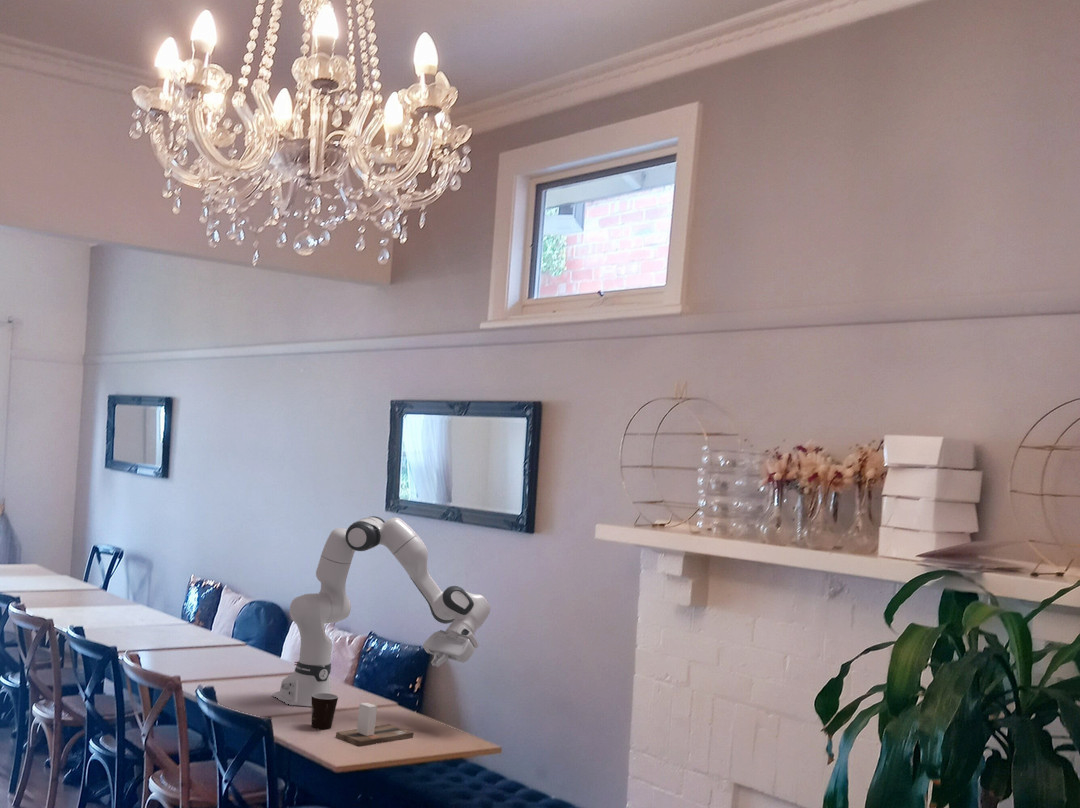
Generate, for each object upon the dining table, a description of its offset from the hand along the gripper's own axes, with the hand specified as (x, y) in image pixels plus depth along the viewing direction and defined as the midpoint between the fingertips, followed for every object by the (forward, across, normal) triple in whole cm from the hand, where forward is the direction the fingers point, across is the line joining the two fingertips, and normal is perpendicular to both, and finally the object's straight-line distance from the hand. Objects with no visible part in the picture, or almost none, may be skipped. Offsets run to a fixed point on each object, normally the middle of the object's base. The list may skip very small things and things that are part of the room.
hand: (434, 665), depth 343 cm
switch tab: (+33, 0, -5) cm, 34 cm away
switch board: (+31, 0, -1) cm, 31 cm away
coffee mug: (+38, -17, -8) cm, 42 cm away
